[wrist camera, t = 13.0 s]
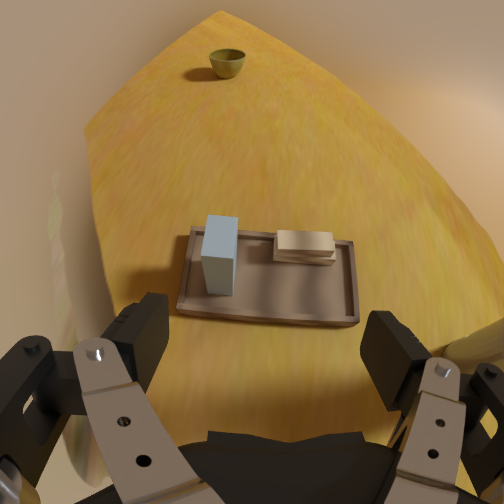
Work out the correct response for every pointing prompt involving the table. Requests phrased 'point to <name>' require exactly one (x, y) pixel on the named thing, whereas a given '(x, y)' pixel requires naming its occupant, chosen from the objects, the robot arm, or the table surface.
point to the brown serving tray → (273, 285)
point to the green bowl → (227, 62)
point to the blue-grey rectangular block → (220, 254)
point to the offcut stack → (304, 247)
